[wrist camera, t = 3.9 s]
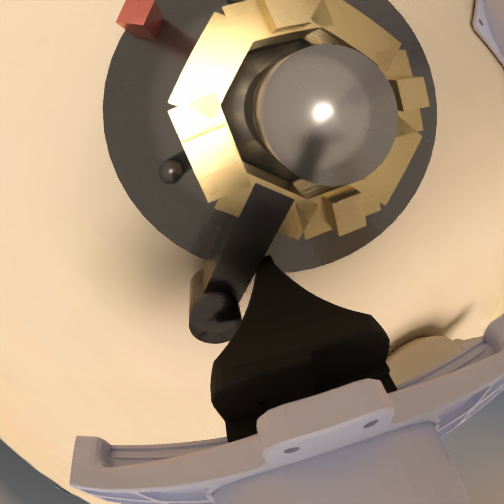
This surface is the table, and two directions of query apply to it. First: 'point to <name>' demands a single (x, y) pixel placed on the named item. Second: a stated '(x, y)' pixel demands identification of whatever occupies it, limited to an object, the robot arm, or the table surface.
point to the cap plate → (160, 137)
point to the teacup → (423, 355)
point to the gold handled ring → (259, 181)
